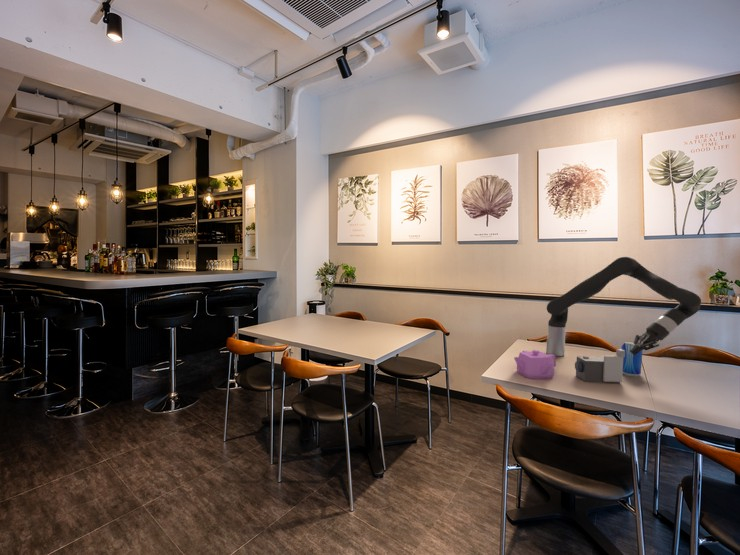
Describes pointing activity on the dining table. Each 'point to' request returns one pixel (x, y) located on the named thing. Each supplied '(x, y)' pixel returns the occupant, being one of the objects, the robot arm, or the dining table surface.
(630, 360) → the beer can
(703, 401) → the dining table surface
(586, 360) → the camera body
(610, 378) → the side door
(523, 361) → the teakettle
